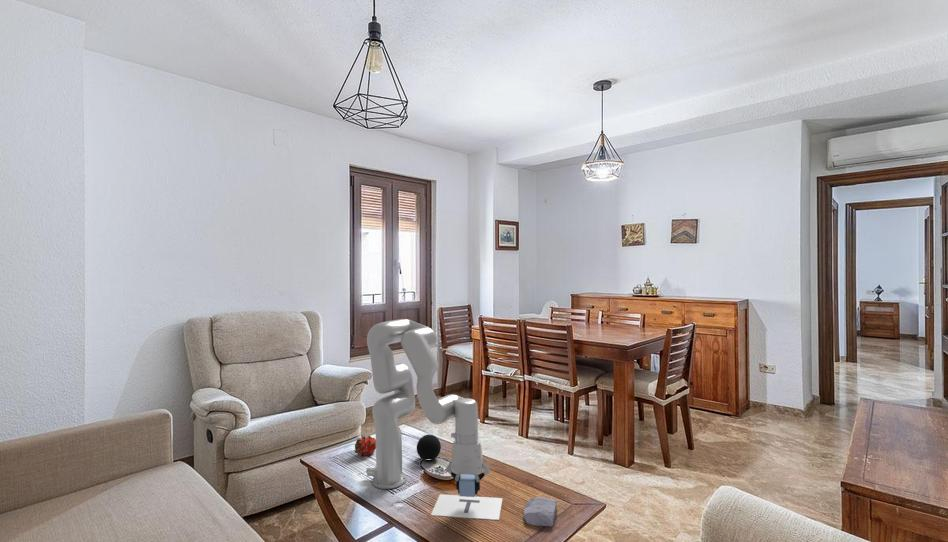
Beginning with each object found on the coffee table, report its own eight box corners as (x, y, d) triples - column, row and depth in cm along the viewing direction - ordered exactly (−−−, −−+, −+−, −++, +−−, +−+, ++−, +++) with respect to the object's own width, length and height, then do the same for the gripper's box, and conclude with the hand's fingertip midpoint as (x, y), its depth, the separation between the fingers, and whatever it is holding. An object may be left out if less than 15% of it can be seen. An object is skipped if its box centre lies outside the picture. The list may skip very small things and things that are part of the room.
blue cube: (459, 496, 147) (459, 481, 147) (462, 488, 152) (461, 474, 152) (474, 497, 146) (474, 481, 146) (476, 489, 151) (476, 474, 151)
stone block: (523, 530, 139) (555, 528, 137) (520, 514, 140) (552, 512, 137) (529, 511, 151) (559, 509, 148) (526, 496, 151) (556, 494, 148)
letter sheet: (430, 515, 145) (430, 514, 145) (439, 494, 157) (439, 494, 157) (498, 520, 141) (498, 519, 141) (502, 498, 154) (502, 498, 154)
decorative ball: (442, 463, 182) (441, 439, 182) (417, 465, 181) (416, 441, 180) (440, 453, 192) (439, 430, 192) (416, 455, 190) (416, 431, 190)
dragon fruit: (353, 463, 187) (373, 457, 197) (366, 454, 184) (386, 448, 194) (346, 444, 190) (366, 438, 201) (359, 435, 187) (379, 430, 198)
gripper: (439, 440, 147) (440, 496, 147) (491, 442, 144) (492, 499, 144) (444, 432, 154) (445, 485, 154) (493, 433, 151) (495, 487, 152)
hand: (468, 491), depth 149 cm, fingers closed on blue cube, 5 cm apart
